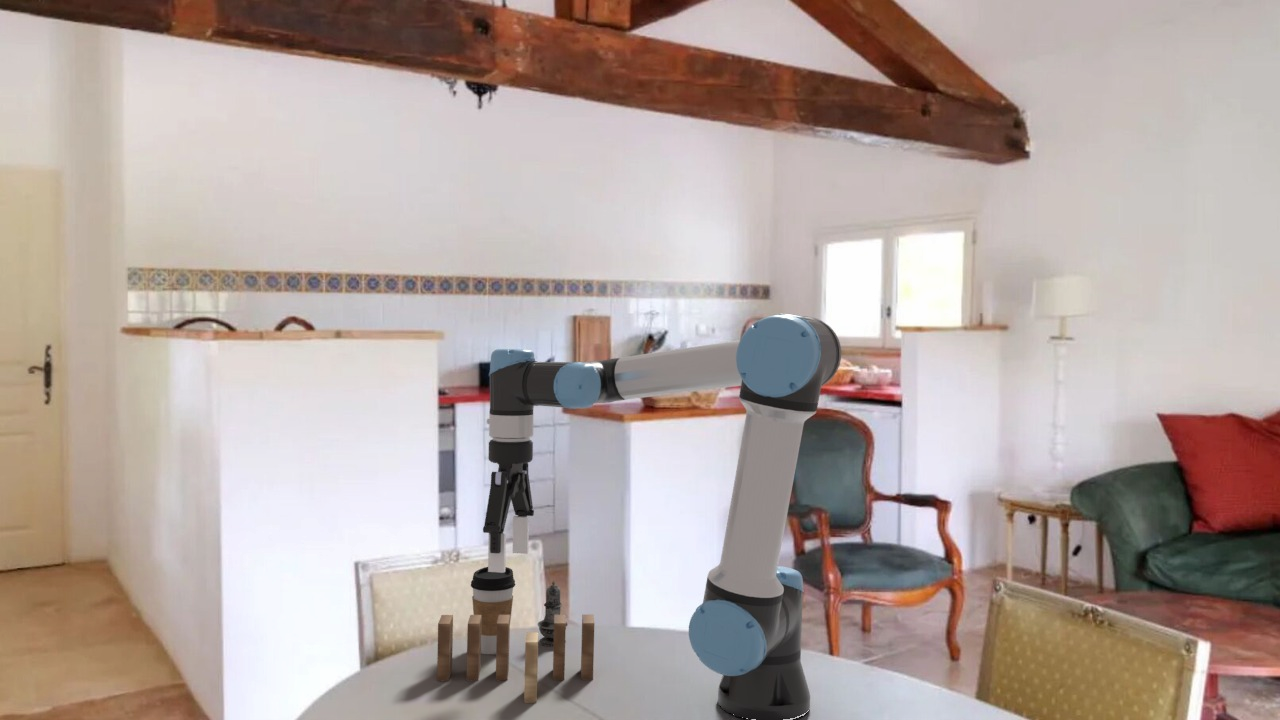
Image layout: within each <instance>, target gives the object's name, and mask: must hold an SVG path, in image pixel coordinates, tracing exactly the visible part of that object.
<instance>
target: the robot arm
mask: <svg viewBox="0 0 1280 720" xmlns="http://www.w3.org/2000/svg"><path fill="white" fill-rule="evenodd" d="M746 329H747V330H745V332H744V333H743V335H742V336H741V338H740V339H738V340H732V341H724V342H718V343H710V344H704V345H703V344H702V345H697V346H689V347H684V348H679V349H677V348H676V349H670V350H664V351H662V350H661V351H656V352H650V353H644V354H643V353H642V354H636V355H630V356H622V357H618V358H617V357H616V358H615V357H614V358H609V359H600V360H594V361H593V360H592V361H591V360H590V361H566V362H563V361H562V362H561V361H537V360H536V357H535V352H534V351H533V350H532V349H520V348H497V349H494V350H493V351H492V352H491V354H490V364H489V373H488V377H489V380H488V381H489V415H488V416H489V417H488V418H487V419H486V424H487V425H489V427H488V430H489V431H488V435H489V436H488V437H490V438H492V439H489V441H488V461H489V462H491V463H493V464H497V465H498V470H497V471H492V472H491V475H490V487H489V493H488V494H489V495H488V501H487V508H486V512H485V513H486V514H485V520H484V525H483V528H482V531H483V533H485V534H488V554H487V557H488V559H487V561H488V562H487V563H488V565H487V567H488V572H500V573H504V572H505V567H506V555H507V554H506V552H507V551H506V546H507V545H506V544H507V532H505V527H506V523H507V518H508V514H509V509H510V506H511V504H512V508H513V511H514V514H515V516H513V517H512V554H521V555H522V554H524V555H528V554H529V540H530V538H529V534H530V532H529V531H530V530H529V529H530V527H529V526H530V517H533V516H534V514H535V510H534V505H533V497H532V491H531V484H530V483H531V482H530V475H529V463H531V462H532V461H533V459H534V457H533V456H534V453H533V452H534V449H533V448H534V441H532V440H531V438H533V436H534V407H538V406H540V407H552V408H553V407H555V408H566V409H570V410H575V409H579V410H580V409H588V408H591V407H593V406H594V404H606V403H607V404H608V403H614V402H619V401H620V402H621V401H626V400H635V399H640V398H641V399H642V398H649V397H651V398H652V397H657V396H660V397H661V396H665V395H666V396H667V395H675V394H684V393H692V392H700V391H709V390H716V389H717V390H719V389H723V388H725V389H726V388H733V387H740V390H739V394H738V395H739V396H738V399H739V401H740V403H741V404H742V405H743V407H744V408H745V411H746V415H745V419H744V420H745V421H744V426H743V432H742V437H741V444H740V448H739V454H738V459H737V465H736V470H735V471H736V472H735V476H734V477H735V478H734V483H733V488H732V493H731V498H730V499H731V501H730V506H729V510H728V515H727V516H728V517H727V521H726V522H727V523H726V528H725V534H724V540H723V545H722V551H721V556H720V562H719V564H718V565H717V566H715V567H713V568H712V569H710V570H709V571H708V574H707V577H706V582H705V588H704V589H705V590H704V594H703V600H702V603H701V604H700V605H698V606H697V607H696V608H695V611H694V612H693V614H691V615H692V616H691V617H690V620H689V625H688V639H689V642H690V643H689V644H690V646H691V648H692V650H693V652H694V653H695V654H696V656H697V658H698V659H699V661H700V662H701V663H702V664H703V665H704V666H705V667H707V668H708V669H709V670H711V671H713V672H715V673H716V674H719V675H722V676H721V679H720V683H719V685H718V688H717V689H718V690H717V704H718V705H720V706H721V707H720V706H719V707H720V708H721V709H722V710H723V709H724V710H725V711H724V710H723V711H724V712H726V711H727V712H726V713H728V714H729V713H731V714H730V715H732V714H734V715H736V716H739V717H743V718H748V719H756V720H783V719H790V718H795V717H797V716H800V715H802V714H804V713H806V712H807V711H808V710H809V708H810V709H811V694H810V693H811V691H810V690H809V687H808V683H807V679H806V675H805V672H804V669H803V666H802V662H801V659H802V658H801V653H802V652H801V651H802V631H803V630H802V628H803V627H802V626H803V623H802V622H803V603H804V602H803V601H804V600H803V599H804V596H803V594H804V593H805V591H804V586H803V585H804V583H803V576H802V574H801V572H800V571H798V570H796V569H794V568H791V567H787V566H782V565H781V566H780V565H779V560H780V557H781V550H782V545H783V539H784V534H785V528H786V523H787V518H788V513H789V507H790V502H791V501H790V500H791V496H792V490H793V487H794V486H793V485H794V479H795V474H796V469H797V464H798V458H799V451H800V448H801V441H802V435H803V430H804V425H805V422H806V421H807V420H808V419H810V418H811V417H812V416H814V415H815V414H817V412H818V405H819V400H820V397H821V396H820V395H821V390H822V387H824V386H825V385H827V383H828V382H830V381H831V380H832V379H833V378H834V376H835V375H836V373H837V372H838V371H839V370H838V369H839V367H840V366H841V360H842V347H841V341H840V339H839V338H838V336H837V333H836V331H834V330H833V328H832V327H831V326H830V325H829V324H827V323H826V322H824V321H823V320H821V319H819V318H816V317H811V316H805V315H804V316H801V315H794V314H791V313H789V314H788V313H778V314H773V315H769V316H766V317H763V318H761V319H758V320H757V321H756V322H754V323H752V325H750V326H749V327H748V328H746ZM809 711H810V710H809ZM734 715H733V716H734ZM736 716H735V717H736ZM739 717H738V718H739ZM743 718H742V719H743Z"/></svg>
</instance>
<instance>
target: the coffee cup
mask: <svg viewBox="0 0 1280 720" xmlns="http://www.w3.org/2000/svg"><path fill="white" fill-rule="evenodd" d="M515 582H516V581H515V579H514V571H513V569H512V568H510V567H507V566H505V572H504V573H500V572H488V566H485V567H481V568H480V569H478V570H476V571H474V572H473V575H472V580H471V581H470V587H471V588H472V597H471V598H472V609H473V610H472V611H473V612H472V613H473V615H482V623H481V655H482V654H483V655H496V643H497V621H498V616H499V615H510V621H511V620H512V611H513V602H514V595H513V591H514V587H515V586H516V583H515Z"/></svg>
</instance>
